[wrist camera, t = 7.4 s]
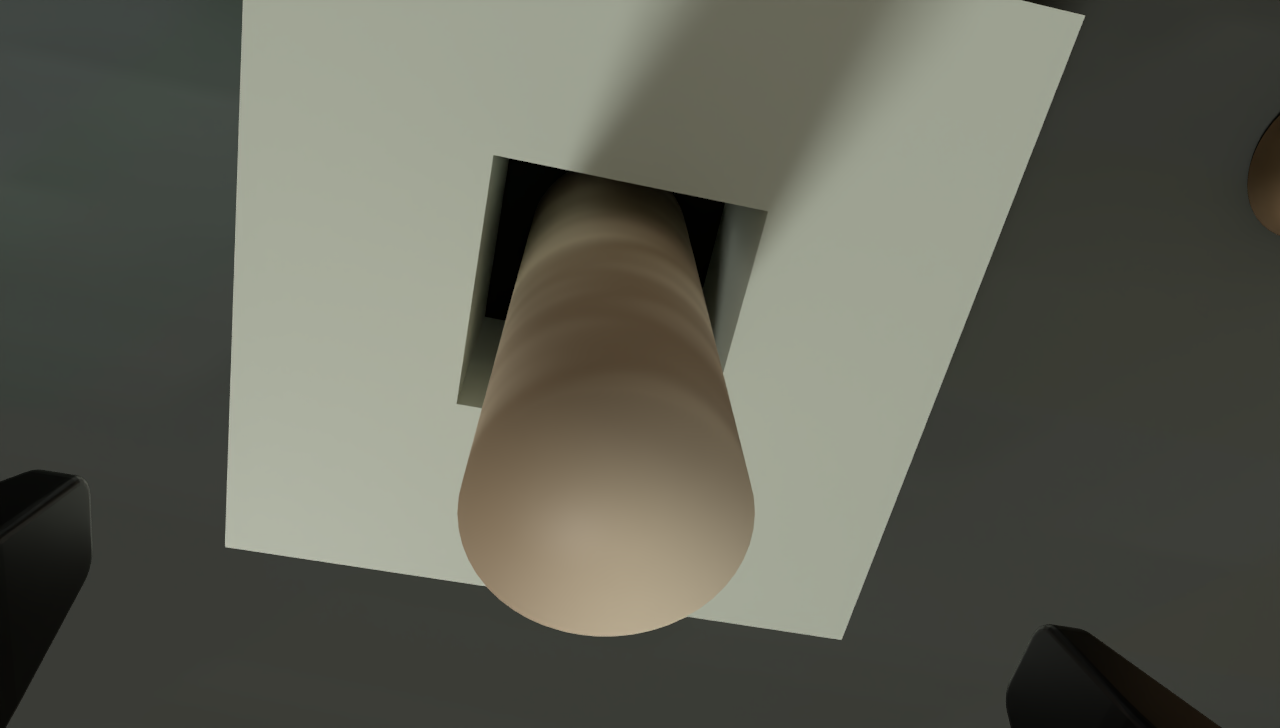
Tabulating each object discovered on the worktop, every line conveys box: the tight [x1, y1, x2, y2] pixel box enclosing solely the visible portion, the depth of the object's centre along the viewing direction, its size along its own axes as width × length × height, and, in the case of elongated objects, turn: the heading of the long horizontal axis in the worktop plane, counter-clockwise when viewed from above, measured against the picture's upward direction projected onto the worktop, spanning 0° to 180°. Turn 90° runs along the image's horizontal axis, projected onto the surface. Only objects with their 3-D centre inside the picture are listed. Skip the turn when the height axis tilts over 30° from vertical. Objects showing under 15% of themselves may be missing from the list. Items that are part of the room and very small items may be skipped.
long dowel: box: [457, 171, 755, 636], centre depth 14 cm, size 3×3×10 cm
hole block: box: [225, 0, 1085, 640], centre depth 17 cm, size 12×12×4 cm
